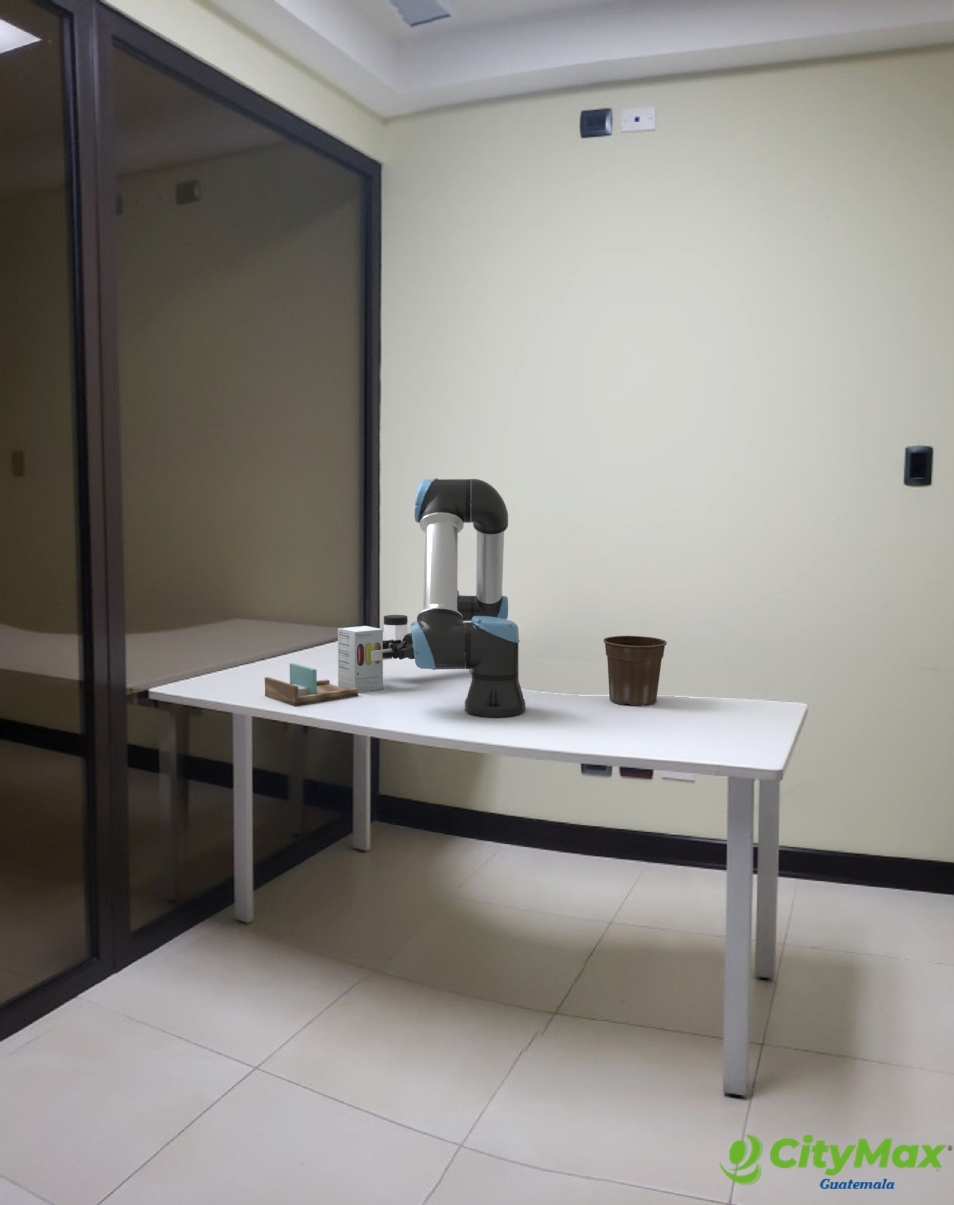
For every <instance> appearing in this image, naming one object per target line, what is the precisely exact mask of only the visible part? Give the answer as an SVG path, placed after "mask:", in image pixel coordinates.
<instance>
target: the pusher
mask: <svg viewBox="0 0 954 1205" xmlns="http://www.w3.org/2000/svg"><path fill="white" fill-rule="evenodd" d="M317 671H318V670H317V669H316V668H313V667H309V666H305V665H302V664H298V663H294V662H290V663H289V684H292V685H295V686H298V696H304V695H312V694H317V681H318V680H317V678H318V677H317Z"/></svg>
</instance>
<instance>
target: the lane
mask: <svg viewBox="0 0 954 1205" xmlns="http://www.w3.org/2000/svg"><path fill="white" fill-rule="evenodd" d="M264 696H265V697H267V696H268V697H267V698H270V699H274V700H276V701H278V700H279V702H282V703H284V704H288V705H291V706H293V707H298V706H306V705H311V704H318V703H323V702H329V701H330V702H331V701H335V700H343V699H348V698H354V697H359V692H358V688H350V689H345V688H342V687H339V686H338V685H334V684H331V683H330V680H329V679H321V680H317V694H312V695H304V696H298V686H295V685H292V684H290V682H289V683H288V682H285V681H283V680H279V679H275V678H273V677H270V676H266V677H264Z"/></svg>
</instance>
